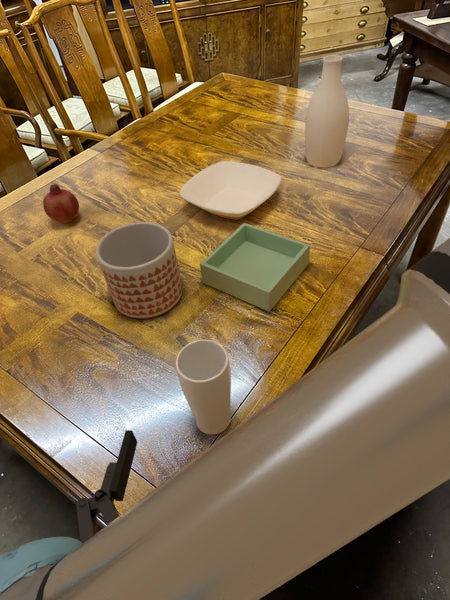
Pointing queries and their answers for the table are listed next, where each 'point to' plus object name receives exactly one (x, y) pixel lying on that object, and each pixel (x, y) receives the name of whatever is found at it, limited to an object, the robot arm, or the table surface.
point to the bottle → (327, 117)
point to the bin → (255, 265)
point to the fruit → (60, 204)
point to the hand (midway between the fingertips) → (191, 438)
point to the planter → (140, 269)
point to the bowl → (230, 188)
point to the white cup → (206, 384)
